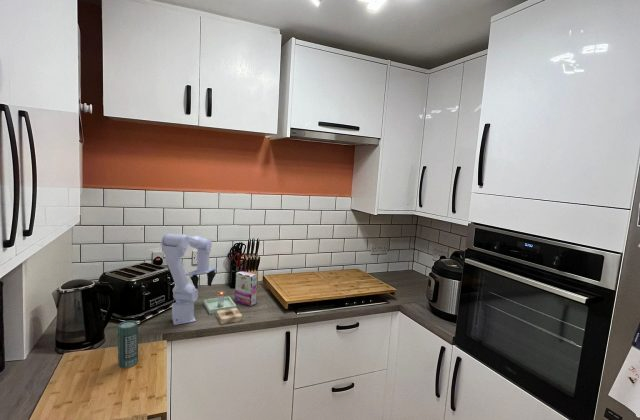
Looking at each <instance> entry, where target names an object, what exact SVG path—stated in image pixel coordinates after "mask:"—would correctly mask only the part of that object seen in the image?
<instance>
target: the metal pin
mask: <svg viewBox="0 0 640 420" xmlns="http://www.w3.org/2000/svg"><path fill="white" fill-rule="evenodd" d="M225 294H226V292H225V291H224V290H218V291H217V292H216V295H217V298H218V304H217V307H218V308H221V307H223V306H224V297H225Z"/></svg>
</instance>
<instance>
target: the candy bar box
mask: <svg viewBox="0 0 640 420" xmlns="http://www.w3.org/2000/svg"><path fill="white" fill-rule="evenodd" d="M234 290H235V292H234V294H235V295H234V303H235V302H236V303H238V304H242V305H245V306H248V307H252V306H255V305H256V304H257V295H258V293H257V292H258V291H257V290H258V274H256V273H252V272H247V271H244V270H241V271H237V272H236V273H235V289H234Z"/></svg>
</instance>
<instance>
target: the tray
mask: <svg viewBox="0 0 640 420" xmlns="http://www.w3.org/2000/svg"><path fill="white" fill-rule="evenodd" d="M217 304H218V297H215V298H208V299H204V300H203V305H204V307H205V309H206V311H207V313H208V315H216V311H219V310H225V309H232V308H237V304H236V303H235V301H233V299H232V298H231V297H230V296H224V306H223V307H221V308H218V307H217Z"/></svg>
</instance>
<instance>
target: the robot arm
mask: <svg viewBox="0 0 640 420" xmlns="http://www.w3.org/2000/svg"><path fill="white" fill-rule="evenodd" d="M212 243H213V242H212V240H211V239H209V238H205V237H204V236H200V235H199V234H195V235H193V236H190V235H189V234H183V233H168V232H167V233H165V234H163V236H162V237H161V242H160V246H161V249H162V251H163V254H164V256H165V261H166V265H167V266H168V270H169V272H170V274H171V277H172V279H173V283H174V287H173V288H172V293H173V294H172V297H173V299H174V300H175V302H173V303H172V304H171V320H172V322H173V325H174V326H177V325H182V324H188V323H189V324H190V323H195V322H196V321H197V320H196V317H195V302H196V301H197V299H198V297H199V291H198V290H199V280H200V277H199V275H203V274H206V277H207V282H206V283H207V286H209V287H211V286H212V283H213V280H214V279H215V276H216V275H217V267H216V266H212V267H211V266H210V253H211V250H212V249H211V248H212V246H213V245H212ZM188 247H191V248H195V250H197V253H196V255H197V257H196V258H197V259H196V261H197V262H196V263H197V264H196V266H197V267H196V269H195V270H192V271H189V272H188V276H187V274H186V271H185V269H184V266H183V262H182V260H181V258H182V257H184V256H185V253H186V252H187V249H188ZM188 277H189V279H190V280H191V283H190V282H189V279H188Z"/></svg>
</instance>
